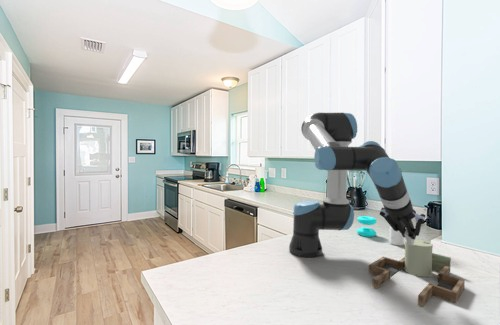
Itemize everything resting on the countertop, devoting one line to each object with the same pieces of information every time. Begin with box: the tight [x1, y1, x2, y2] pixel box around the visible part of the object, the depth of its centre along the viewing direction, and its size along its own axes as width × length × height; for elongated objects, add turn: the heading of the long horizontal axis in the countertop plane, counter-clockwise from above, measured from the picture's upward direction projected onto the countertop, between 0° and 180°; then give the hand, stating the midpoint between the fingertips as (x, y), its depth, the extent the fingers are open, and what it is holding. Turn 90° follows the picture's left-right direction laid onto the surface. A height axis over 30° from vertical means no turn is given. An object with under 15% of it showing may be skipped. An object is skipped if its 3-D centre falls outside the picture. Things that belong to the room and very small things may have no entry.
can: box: [403, 238, 434, 278], centre depth 99 cm, size 9×9×12 cm
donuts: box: [356, 215, 377, 238], centre depth 147 cm, size 10×10×10 cm
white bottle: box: [388, 225, 405, 246], centre depth 132 cm, size 9×6×25 cm
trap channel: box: [368, 252, 465, 307], centre depth 93 cm, size 35×26×6 cm
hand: (411, 241), depth 89 cm, fingers closed
